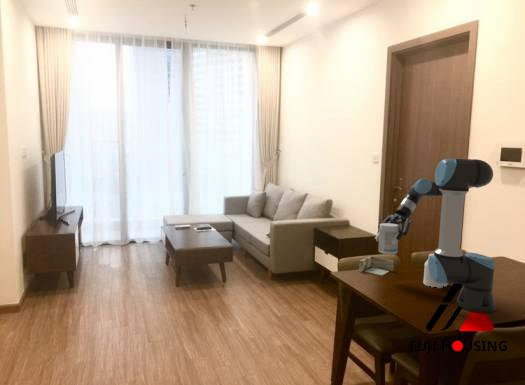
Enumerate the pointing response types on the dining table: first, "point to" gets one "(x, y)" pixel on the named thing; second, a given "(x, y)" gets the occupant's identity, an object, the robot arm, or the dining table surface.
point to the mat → (377, 271)
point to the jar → (428, 278)
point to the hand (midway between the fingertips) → (384, 241)
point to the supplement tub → (388, 238)
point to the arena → (376, 263)
